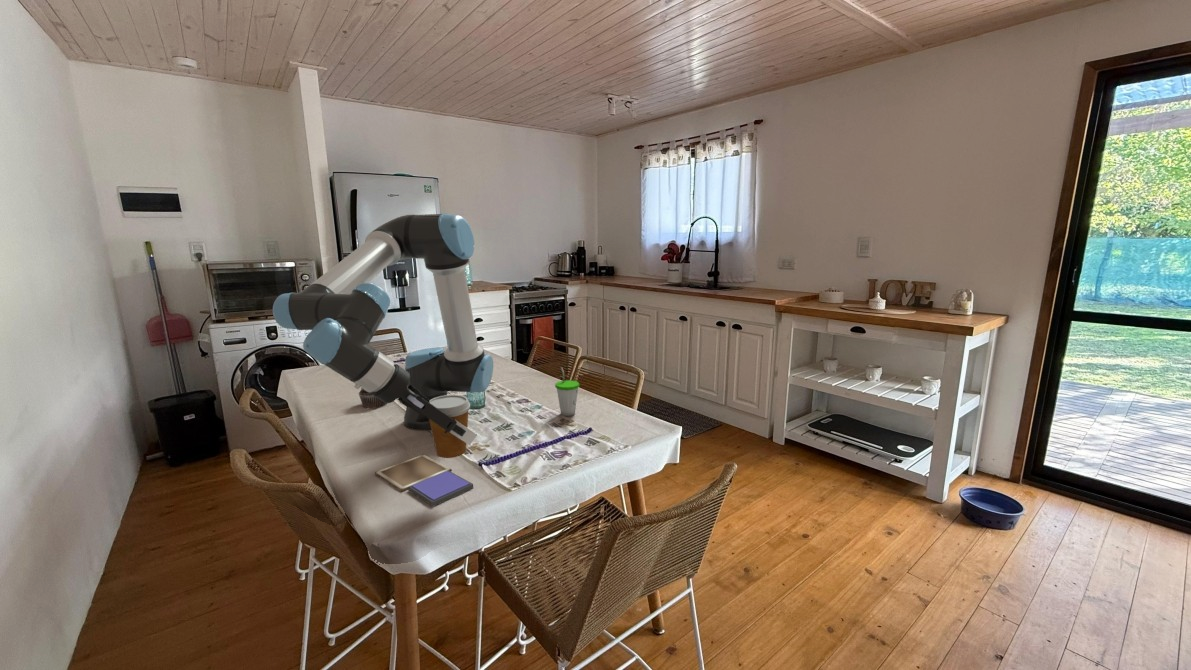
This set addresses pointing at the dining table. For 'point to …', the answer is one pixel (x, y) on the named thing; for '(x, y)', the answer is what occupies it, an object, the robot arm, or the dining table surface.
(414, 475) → the brown square tray
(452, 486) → the ink pad
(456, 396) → the disposable coffee cup
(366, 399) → the cupcake
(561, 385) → the cup
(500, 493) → the dining table surface
